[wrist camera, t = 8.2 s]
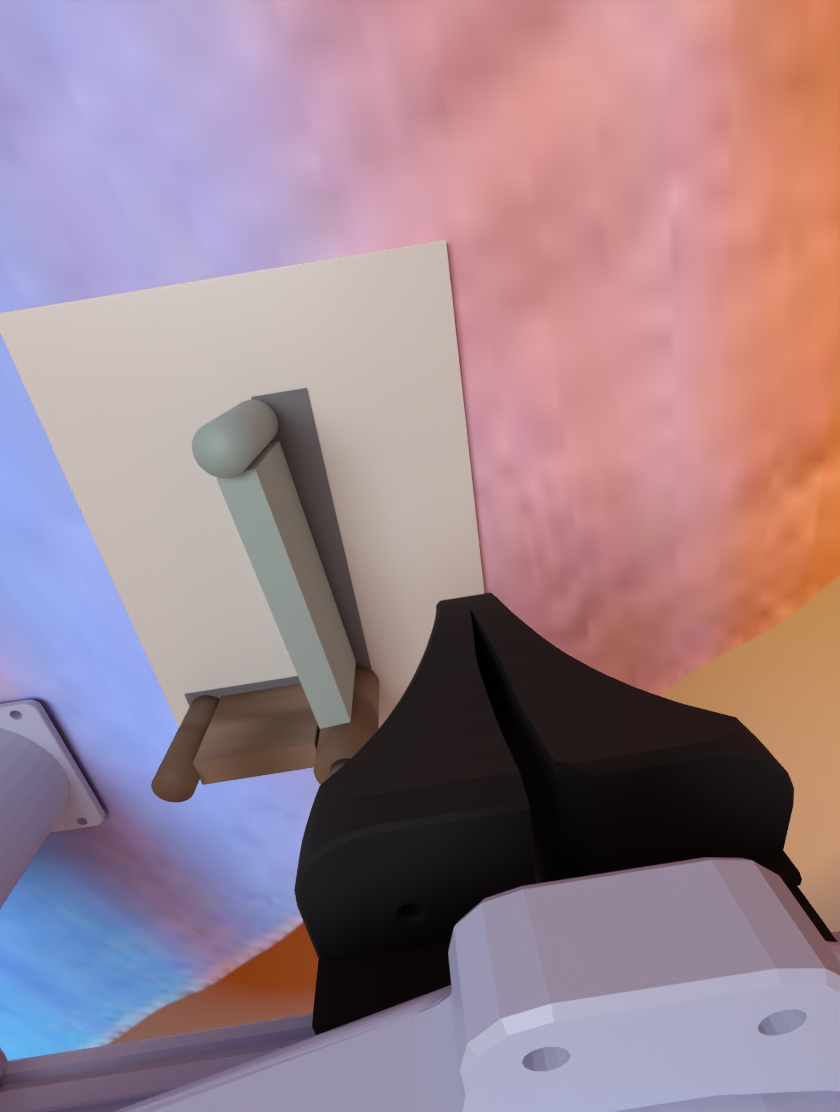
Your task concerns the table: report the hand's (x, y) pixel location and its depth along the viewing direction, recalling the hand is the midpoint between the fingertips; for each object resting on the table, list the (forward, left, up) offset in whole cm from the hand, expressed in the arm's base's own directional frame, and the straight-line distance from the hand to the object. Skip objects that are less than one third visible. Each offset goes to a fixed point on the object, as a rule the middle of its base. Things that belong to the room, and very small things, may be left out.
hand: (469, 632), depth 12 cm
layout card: (-6, -1, -9) cm, 11 cm away
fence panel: (-6, -1, -9) cm, 10 cm away
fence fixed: (-8, -8, -9) cm, 15 cm away
